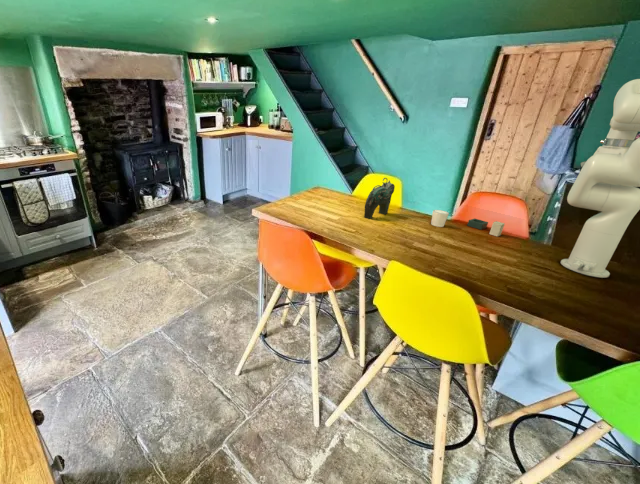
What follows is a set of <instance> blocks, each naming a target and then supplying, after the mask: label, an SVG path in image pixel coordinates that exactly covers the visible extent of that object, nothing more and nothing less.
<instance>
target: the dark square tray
mask: <svg viewBox="0 0 640 484" xmlns="http://www.w3.org/2000/svg"><path fill="white" fill-rule="evenodd" d="M488 225H489V222H488V221H485V220H481V219H478V218H471V219H469V220H468V222H467V224H466V226H467V227H470V228H474V229H477V230H485V229H486V228H487V227H488Z"/></svg>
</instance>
